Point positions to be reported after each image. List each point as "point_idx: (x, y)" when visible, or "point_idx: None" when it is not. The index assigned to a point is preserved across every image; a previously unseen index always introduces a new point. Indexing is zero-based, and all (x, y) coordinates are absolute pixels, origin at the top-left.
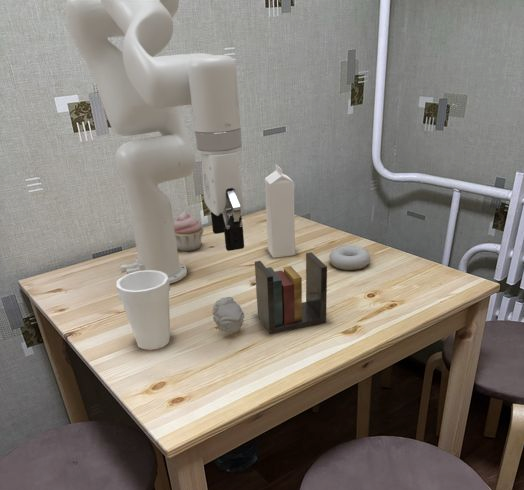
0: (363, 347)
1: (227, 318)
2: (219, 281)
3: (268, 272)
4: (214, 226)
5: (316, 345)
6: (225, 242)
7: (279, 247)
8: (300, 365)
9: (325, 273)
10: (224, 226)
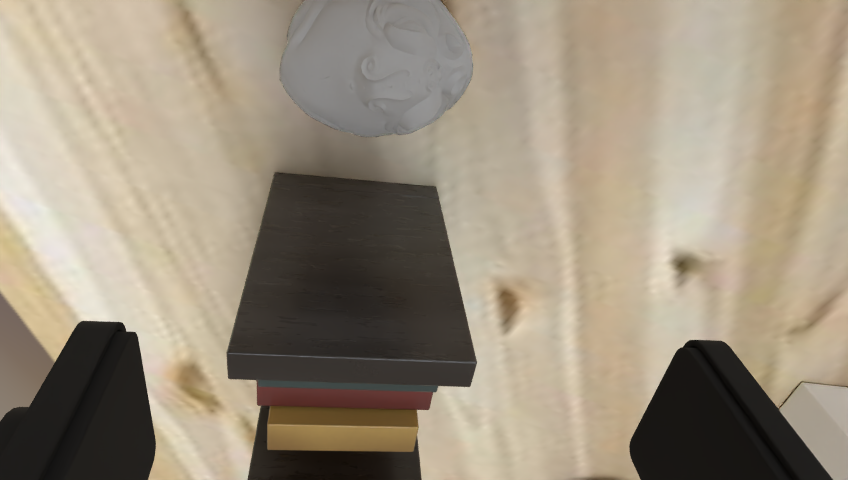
0: None
1: (294, 33)
2: (817, 162)
3: (289, 375)
4: (721, 408)
5: (134, 276)
6: (72, 387)
7: (810, 429)
8: (3, 180)
9: None
10: (667, 468)
